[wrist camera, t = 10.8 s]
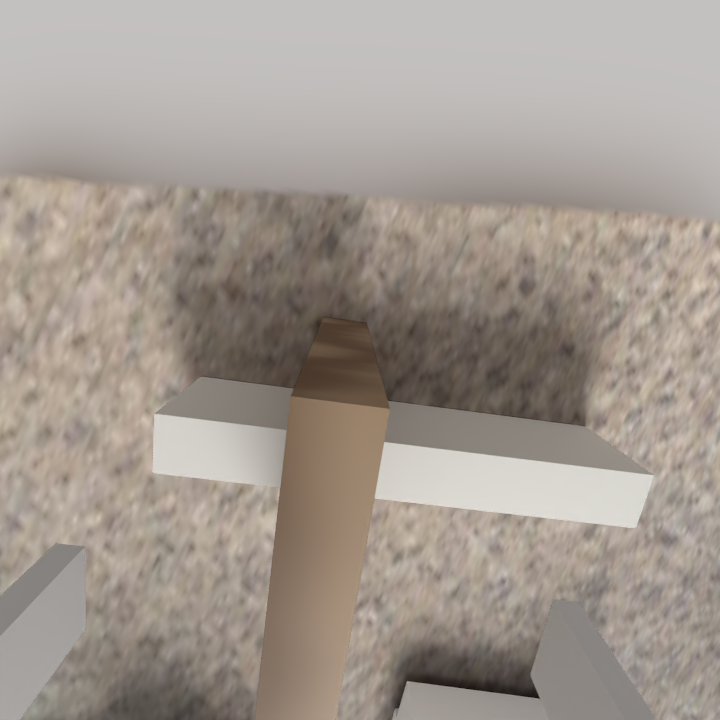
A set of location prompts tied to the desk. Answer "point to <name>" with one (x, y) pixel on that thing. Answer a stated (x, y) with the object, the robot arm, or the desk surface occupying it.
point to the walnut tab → (322, 523)
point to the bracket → (464, 704)
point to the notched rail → (412, 455)
